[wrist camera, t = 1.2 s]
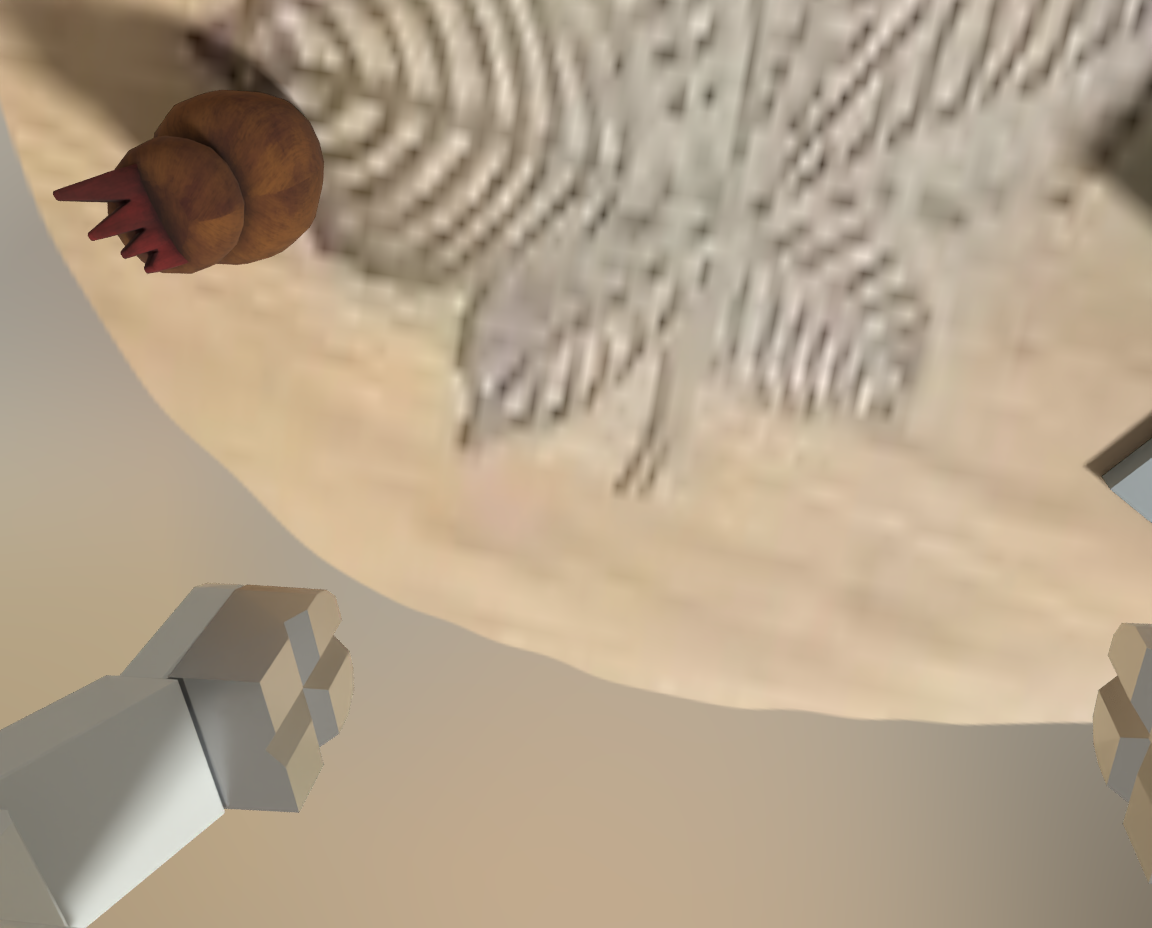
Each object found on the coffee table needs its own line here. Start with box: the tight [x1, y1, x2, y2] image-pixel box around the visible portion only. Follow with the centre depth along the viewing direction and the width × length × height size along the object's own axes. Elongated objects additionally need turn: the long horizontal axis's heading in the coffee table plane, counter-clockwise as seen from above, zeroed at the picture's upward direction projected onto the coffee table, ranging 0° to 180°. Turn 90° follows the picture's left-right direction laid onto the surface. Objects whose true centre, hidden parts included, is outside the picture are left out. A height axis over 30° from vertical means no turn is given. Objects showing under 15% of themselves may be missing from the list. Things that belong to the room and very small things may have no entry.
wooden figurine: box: [53, 90, 324, 274], centre depth 37 cm, size 7×6×15 cm
